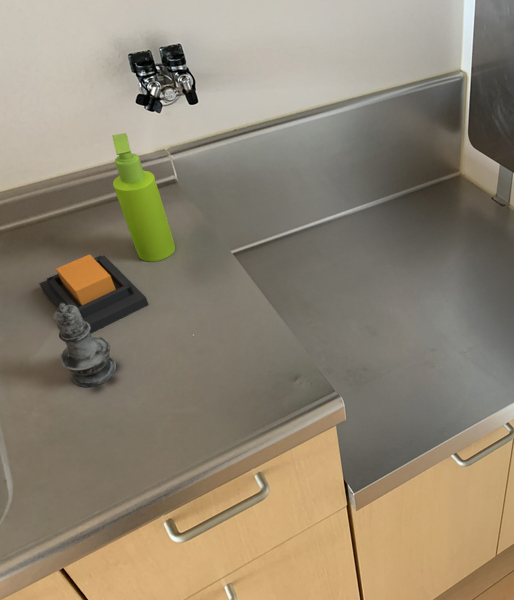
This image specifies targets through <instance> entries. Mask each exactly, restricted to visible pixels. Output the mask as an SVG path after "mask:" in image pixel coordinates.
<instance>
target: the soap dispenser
mask: <svg viewBox="0 0 514 600" xmlns="http://www.w3.org/2000/svg"><path fill="white" fill-rule="evenodd" d="M111 137H112V142H113V146H114V150H115V154H116V155H117V156H116V158H114V164H115V167H116V170H117V172H118V176H117V177H115V178H114V180H113V181H112V186H113V189H114V192H115V194H116V198H117V200H118V203H119V206H120V208H121V211H122V214H123V217H124V220H125V223H126V226H127V228H128V231H129V234H130V237H131V239H132V243H133V245H134V249H135V252H136V254H137V256H138V258H139V259H140V260H141V261H145V262H151V263H152V262H159V261H163V260H165V259H167V258H169V257H170V256H172V255H173V254H174V252H175V251H176V244H175V241H174V237H173V233H172V231H171V227H170V224H169V221H168V217H167V214H166V211H165V207H164V204H163V201H162V197H161V194H160V191H159V187H158V184H157V181H156V177H155V174H154V173H152V172H151V171H148V170H144V168H143V166H142V162H141V159H140V156H139V155H138V154H137V153H132V149H131V147H130V143H129V139H128V135H127V132H124V133H118V134H113V135H112V136H111Z"/></svg>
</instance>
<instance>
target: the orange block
mask: <svg viewBox="0 0 514 600" xmlns="http://www.w3.org/2000/svg"><path fill="white" fill-rule="evenodd" d="M94 258H95V257H93V256H92V255H91V254H88V255H85V256H82V257H79V258H78V259H75V260H73V261H71V262H68V263H66V264H64V265H61V266H59V267H56V268H55V270H56V274H58V275H59V277H60V279H61V281H62V283H63V285H64V287H65V288H66V290H67V291H68V292H69V293H70V294H71V295H72V297H73V298H74V299H75V300H76V301H77V302H78V304H79V305H80V306H82V305H84V304H86V303H88V302H90V301H93V300H95V299H97V298H99V297H101V296H103V295H105V294H108V293H110V292H112V291H114V290H116V289H115V286H114V284H113V281H112V279H111V276H110V275H109V274H108V273H107V272H106V271H105V270H104V269H103V268H102V267H101V266H100V264H99V263H98V262H97V261H96V260H95V259H94Z"/></svg>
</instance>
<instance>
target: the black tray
mask: <svg viewBox="0 0 514 600" xmlns="http://www.w3.org/2000/svg"><path fill="white" fill-rule="evenodd" d="M93 258H94V259H95V260H96V261H97V262H98V263H99V264H100V266H101V267H102V268H103V269H104V270H105V271H106V272H107V273H108V274H109V275H110V276H111V279H112V281H113V284H114V286H115V289H116V290H114V291H112V292H110V293H108V294H105V295H103V296H101V297H99V298H97V299H95V300H93V301H90V302H88V303H86V304H84V305H82V306H80V305H79V304H78V302H77V301H76V300H75V299H74V298H73V297H72V295H71V294H70V293H69V292H68V291H67V290H66V288H65V287H64V285H63V283H62V281H61V279H60V277H59V275H58V273H56V274H54V275H52V276H50V277H47V278H46V280H44V281H42V282H39V286H40V288H41V290H42V291H43V293H44V294H45V295H46V297H47V298H48V299H49V300H50V301H51V303H52V304H53V305H54V307H55V308H56V310H57V309H58V308H59V305H60V303H63V304H65V305H73V306H76V307H77V308H78V309H79V311H80V314H81V316H82V318H83V320H84V321H85V322H87V323H88V324H89V325H90V333H91V334H93V333H94V332H96V331H98V330H100V329H103V328H105V327H107V326H109V325H111V324H113V323H114V322H116V321H119V320H121V319H123V318H125V317H127V316H129V315H131V314H133V313H135V312H137V311H139V310H141V309H143V308H145V307H147V306H149V302H148V299H147V297H146V296H145V294H143V293H142V291H140V289H139V288H137V286H135V284H134V283H132V281H130V279H129V278H128V277H127V276H126V275H125V274H124V273H123V272H121V270H120V269H118V267H117V266H116V265H115V264H113V262H112V261H111V260H110V259H109V258H108V257H107V256H106V255H105V254H104V255H98V256H96V257H93Z"/></svg>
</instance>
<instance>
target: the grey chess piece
mask: <svg viewBox="0 0 514 600" xmlns="http://www.w3.org/2000/svg"><path fill="white" fill-rule="evenodd" d="M53 319H54V322H55V324H56V326H57V327H58V330H59V333H58V336H59V339H60V340H61V341H62V342H64V343H65V345H66V347H65V349H64V350H63V351H62V352H61V355H60V359H59V361H60V364H61V366H63V367H64V369H67V370H68V371H69V372H70V373H72V381H73V383H75V385H77V386H79V387H82V388H92V387H96V386H97V387H98V386H100V385H102V384H103V383H105V382H107V381H108V380H109V379H110V378H112V377H113V375H114V374H115V373H116V369H117V365H116V362H115V360H114V359H113V358H111V357H110V353H111V345H110V342H109V341H108V340H107V339H106V338H103V337H101V336H93V335H92V333H90V325H89V324H88V323H87V322H85V321H84V320H83V318H82V316H81V314H80V311H79V309H78V308H77V307H76V306H73V305H65V304H63V303H60V305H59V308H58V309H57V308H56V310H55V311H54V313H53Z"/></svg>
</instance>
